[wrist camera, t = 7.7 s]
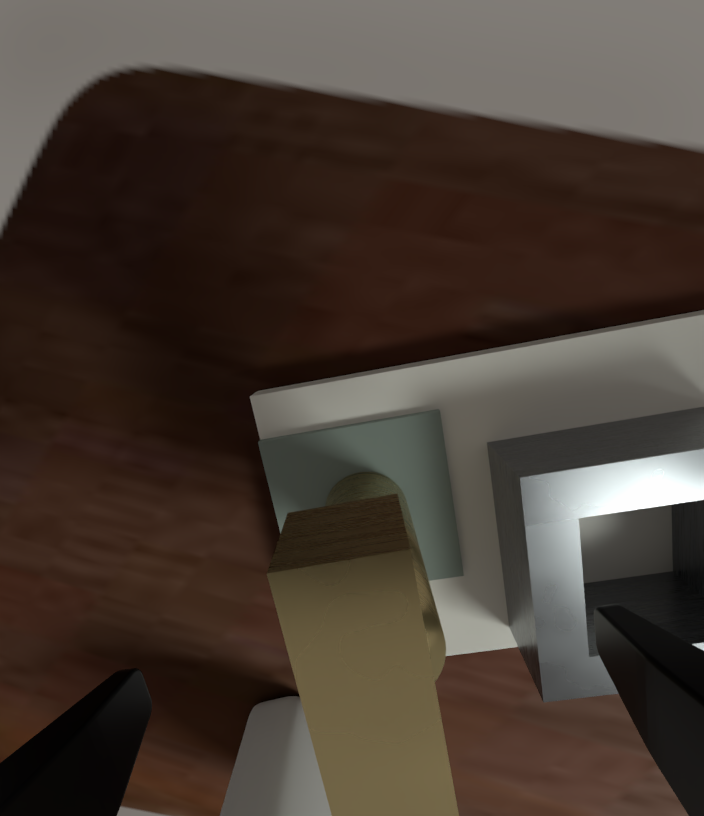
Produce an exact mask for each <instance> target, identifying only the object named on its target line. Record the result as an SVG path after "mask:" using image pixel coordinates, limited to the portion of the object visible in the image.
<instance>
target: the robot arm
mask: <svg viewBox="0 0 704 816" xmlns="http://www.w3.org/2000/svg"><path fill="white" fill-rule="evenodd" d="M594 625H595V639H596V647H597V650H598V653H599V656H600V658H601V660H602V662H603V664H604V666H605V668H606V670H607V672H608V674H609V676H610V678H611V680H612V681H613V683H614V685H615V687H616V689H617V691H618V693H619V695H620V697H621V699H622V701H623V703H624V705H625V707H626V709H627V711H628V712H629V714H630V716H631V718H632V720H633V722H634V724H635V726H636V728H637V730H638V732H639V734H640V736H641V738H642V739H643V741H644V743H645V745H646V747H647V749H648V751H649V752H650V754H651V756H652V757H653V759H654V761H655V762H656V764H657V766H658V767H659V769H660V770H661V772H662V774H663V775H664V777H665V778H666V780H667V781H668V783H669V785H670V786H671V788H672V789H673V791H674V793H675V794H676V796H677V797H678V799H679V801H680V802H681V804H682V805H683V807H684V809H685V810H686V812H687V813H688V815H689V816H704V651H703V650H701V649H700V648H698V647H696V646H694V645H692V644H690V643H689V642H687V641H685V640H683V639H681V638H679V637H678V636H676V635H674V634H672V633H670V632H668V631H667V630H665V629H663V628H661V627H659V626H657V625H656V624H654V623H652V622H650V621H648V620H646V619H645V618H643V617H641V616H639V615H637V614H636V613H634V612H632V611H630V610H628V609H626V608H625V607H623V606H621V605H618V604H612V605H604V606H598V607H596V608H595V610H594ZM151 710H152V700H151V697H150V694H149V691H148V688H147V685H146V683H145V680H144V677H143V674H142V672H141V671H140V670H139V669H136V668H133V669H125V670H120V671H117V672H115V673H114V674H113V675H111V676H110V677H109V678H108V679H106V680H105V681H104V682H103V683H101V684H100V685H99V686H97V687H96V688H95V689H94V690H92V691H91V692H90V693H89V694H87V695H86V696H85V697H84V698H82V699H81V700H80V701H78V702H77V703H76V704H75V705H73V706H72V707H71V708H70V709H68V710H67V711H66V712H65V713H63V714H62V715H61V716H59V717H58V718H57V719H56V720H54V721H53V722H52V723H51V724H49V725H48V726H47V727H46V728H44V729H43V730H42V731H40V732H39V733H38V734H37V735H35V736H34V737H33V738H32V739H30V740H29V741H28V742H26V743H25V744H24V745H23V746H21V747H20V748H19V749H18V750H16V751H15V752H14V753H13V754H11V755H10V756H9V757H7V758H6V759H5V760H4V761H2V762H1V763H0V816H117V813H118V811H119V808H120V805H121V803H122V800H123V797H124V794H125V791H126V788H127V785H128V782H129V779H130V776H131V773H132V770H133V767H134V764H135V761H136V758H137V755H138V752H139V749H140V746H141V742H142V739H143V736H144V733H145V730H146V727H147V724H148V721H149V718H150V715H151Z"/></svg>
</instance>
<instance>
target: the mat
mask: <svg viewBox="0 0 704 816" xmlns="http://www.w3.org/2000/svg"><path fill="white" fill-rule="evenodd" d="M258 445H259V449H260V453H261V457H262V461H263V465H264V469H265V473H266V477H267V481H268V485H269V489H270V493H271V497H272V502H273V506H274V510H275V514H276V518H277V522H278V526H279V530H280V534H281V531H282V528H283V525H284V522H285V520H286V517H287V514H288V513H290V512H295V511H301V510H307V509H312V508H318V507H324V506H325V504H326V500H327V497H328V495H329V493H330V491H331V490H332V488H333V487H334V486H335V485H336V484H337V483H338V482H339V481H340V480H342V479H343V478H345V477H347V476H349V475H351V474H354V473H359V472H374V473H379V474H382V475H384V476H386V477H388V478H390V479H391V480H393V481H394V482H395V483H396V484H397V485H398V486H399V487H400V488H401V489H402V491H403V493H404V495H405V497H406V500H407V504H408V507H409V511H410V514H411V518H412V522H413V525H414V529H415V532H416V536H417V540H418V543H419V547H420V550H421V554H422V558H423V561H424V565H425V569H426V572H427V576H428V579H429V581H431V580H438V579H445V578H452V577H459V576H464V573H463V566H462V559H461V552H460V545H459V538H458V531H457V524H456V517H455V511H454V504H453V497H452V490H451V483H450V476H449V469H448V462H447V455H446V448H445V441H444V434H443V428H442V421H441V414H440V410H439V409H436V410H430V411H424V412H418V413H412V414H407V415H401V416H395V417H389V418H383V419H378V420H372V421H366V422H360V423H354V424H349V425H343V426H337V427H331V428H325V429H320V430H314V431H308V432H302V433H296V434H291V435H285V436H279V437H273V438H267V439H262V440H260V441H259V442H258Z"/></svg>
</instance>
